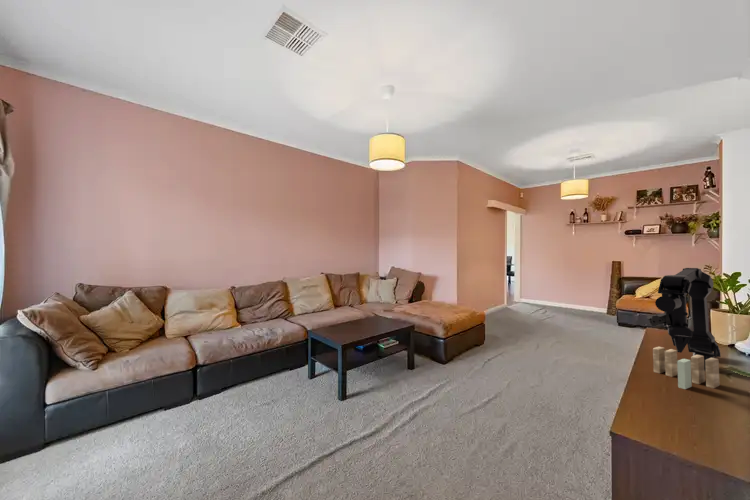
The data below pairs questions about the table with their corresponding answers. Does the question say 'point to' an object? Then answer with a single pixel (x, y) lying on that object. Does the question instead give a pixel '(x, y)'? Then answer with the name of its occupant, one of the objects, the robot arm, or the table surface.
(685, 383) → the domino
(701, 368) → the domino
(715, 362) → the domino
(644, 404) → the table surface
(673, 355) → the domino
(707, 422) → the table surface
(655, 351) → the domino
